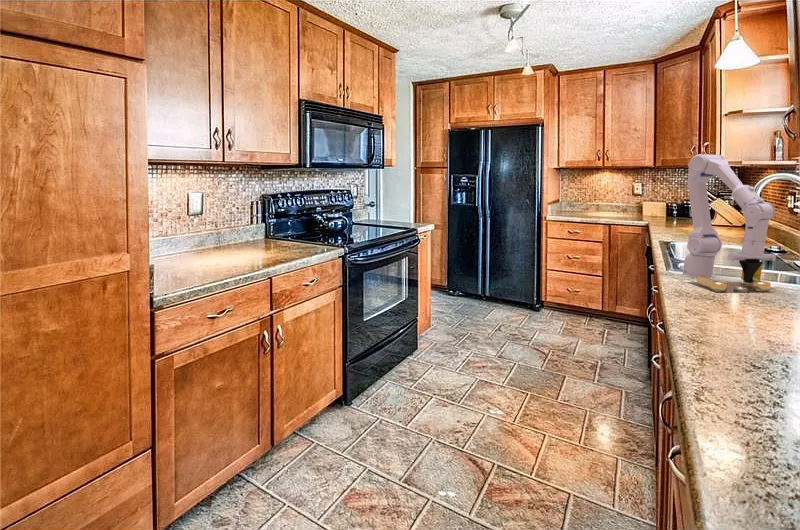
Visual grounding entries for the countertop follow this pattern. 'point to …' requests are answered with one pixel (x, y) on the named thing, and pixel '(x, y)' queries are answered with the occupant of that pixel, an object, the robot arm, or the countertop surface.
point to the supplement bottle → (757, 273)
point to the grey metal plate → (732, 288)
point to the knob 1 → (712, 284)
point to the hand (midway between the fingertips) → (747, 282)
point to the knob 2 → (759, 285)
